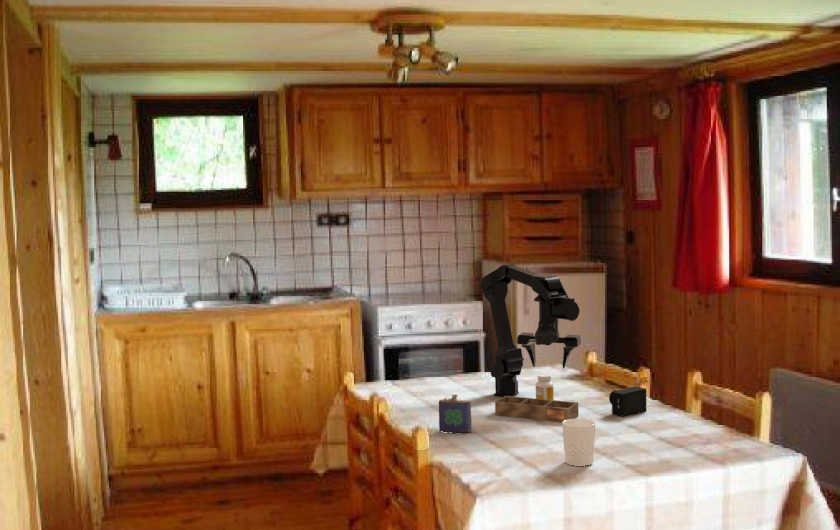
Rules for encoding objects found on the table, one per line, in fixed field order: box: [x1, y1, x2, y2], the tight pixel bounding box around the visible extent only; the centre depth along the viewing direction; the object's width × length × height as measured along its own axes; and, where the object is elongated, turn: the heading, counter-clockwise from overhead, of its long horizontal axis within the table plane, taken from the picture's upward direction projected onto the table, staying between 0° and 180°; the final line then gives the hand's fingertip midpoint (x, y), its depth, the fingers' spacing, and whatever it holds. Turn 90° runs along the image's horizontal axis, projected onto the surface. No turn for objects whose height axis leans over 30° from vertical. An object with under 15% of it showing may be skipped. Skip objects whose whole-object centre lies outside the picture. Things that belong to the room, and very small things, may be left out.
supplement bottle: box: [535, 373, 555, 400], centre depth 273 cm, size 5×5×10 cm
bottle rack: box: [494, 396, 580, 423], centre depth 263 cm, size 23×8×4 cm, turn 62°
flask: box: [438, 394, 473, 434], centre depth 248 cm, size 9×3×11 cm, turn 74°
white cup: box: [561, 418, 596, 467], centre depth 217 cm, size 8×8×10 cm
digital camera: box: [608, 386, 647, 418], centre depth 263 cm, size 10×5×7 cm, turn 125°
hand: (549, 367), depth 273 cm, fingers open, 9 cm apart
